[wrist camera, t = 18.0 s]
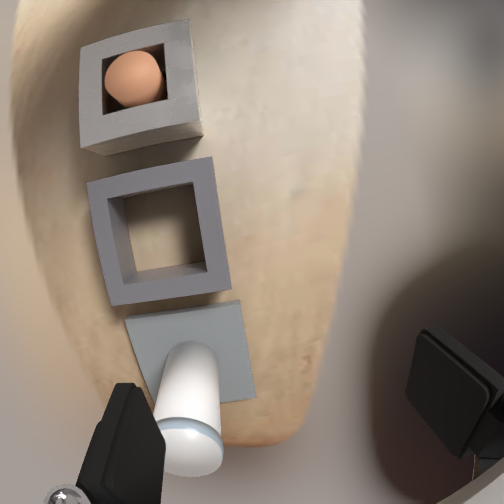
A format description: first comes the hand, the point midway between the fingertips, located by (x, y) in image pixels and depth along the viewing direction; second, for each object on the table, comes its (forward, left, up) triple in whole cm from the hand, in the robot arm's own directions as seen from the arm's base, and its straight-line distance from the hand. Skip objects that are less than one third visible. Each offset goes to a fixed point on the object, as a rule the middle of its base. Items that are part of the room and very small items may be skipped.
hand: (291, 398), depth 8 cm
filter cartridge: (+9, -6, -17) cm, 20 cm away
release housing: (-16, -6, -18) cm, 25 cm away
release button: (-16, -6, -17) cm, 24 cm away
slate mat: (+9, -6, -18) cm, 21 cm away
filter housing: (-4, -6, -18) cm, 20 cm away
